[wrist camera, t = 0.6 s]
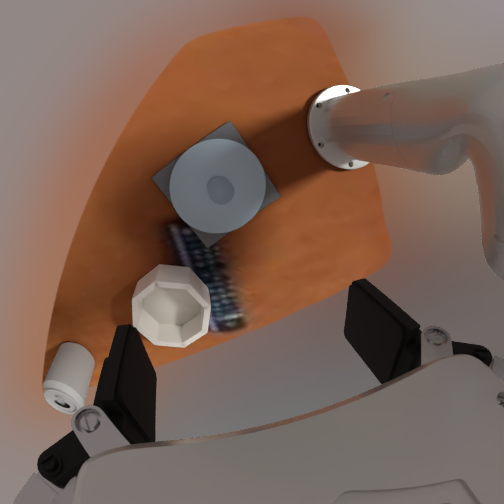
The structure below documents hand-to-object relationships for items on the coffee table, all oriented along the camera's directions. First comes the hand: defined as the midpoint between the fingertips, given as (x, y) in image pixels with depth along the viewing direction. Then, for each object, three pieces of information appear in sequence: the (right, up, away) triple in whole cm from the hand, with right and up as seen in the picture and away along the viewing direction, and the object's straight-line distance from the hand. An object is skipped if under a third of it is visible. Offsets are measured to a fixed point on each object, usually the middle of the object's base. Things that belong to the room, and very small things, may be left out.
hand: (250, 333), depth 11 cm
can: (-32, -15, +28) cm, 45 cm away
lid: (-4, +12, +22) cm, 26 cm away
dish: (-12, -3, +28) cm, 30 cm away
